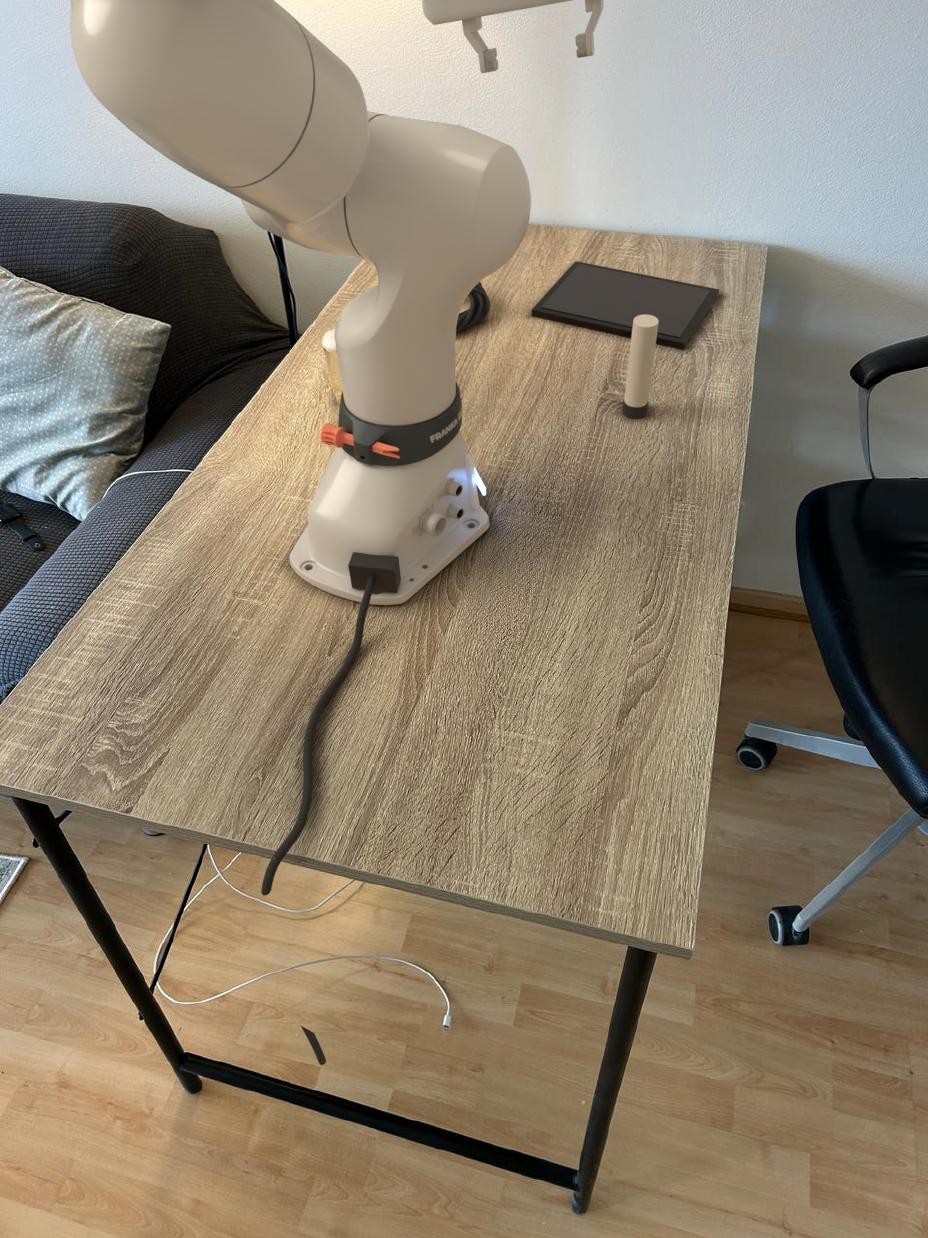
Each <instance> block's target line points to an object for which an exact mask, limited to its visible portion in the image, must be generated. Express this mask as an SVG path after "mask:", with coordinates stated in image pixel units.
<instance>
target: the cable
mask: <svg viewBox="0 0 928 1238" xmlns="http://www.w3.org/2000/svg"><path fill="white" fill-rule="evenodd" d="M481 282H482V281H480V282H479V283H478V284H477V285H476V286H475V287H474V288H473V289H472V290H471V292H470V293H469V294H468V296H467V297H466V298H468V299H469V302H470V304H469V305H470V306H469V308H468V309H465V310H464V311H460V313H459V316H458V320H457V326H456V332H458V331H460V330H464V329H467V328H469V327H471V326H473V325H475V324H477V323H480V322H483V320H485V319H486V317H487V316H488V315H489V312H490V310H491V301H490V297H489V296H488V293H487V292H486V289H485V288H484V287H483V285H482V283H481Z"/></svg>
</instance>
